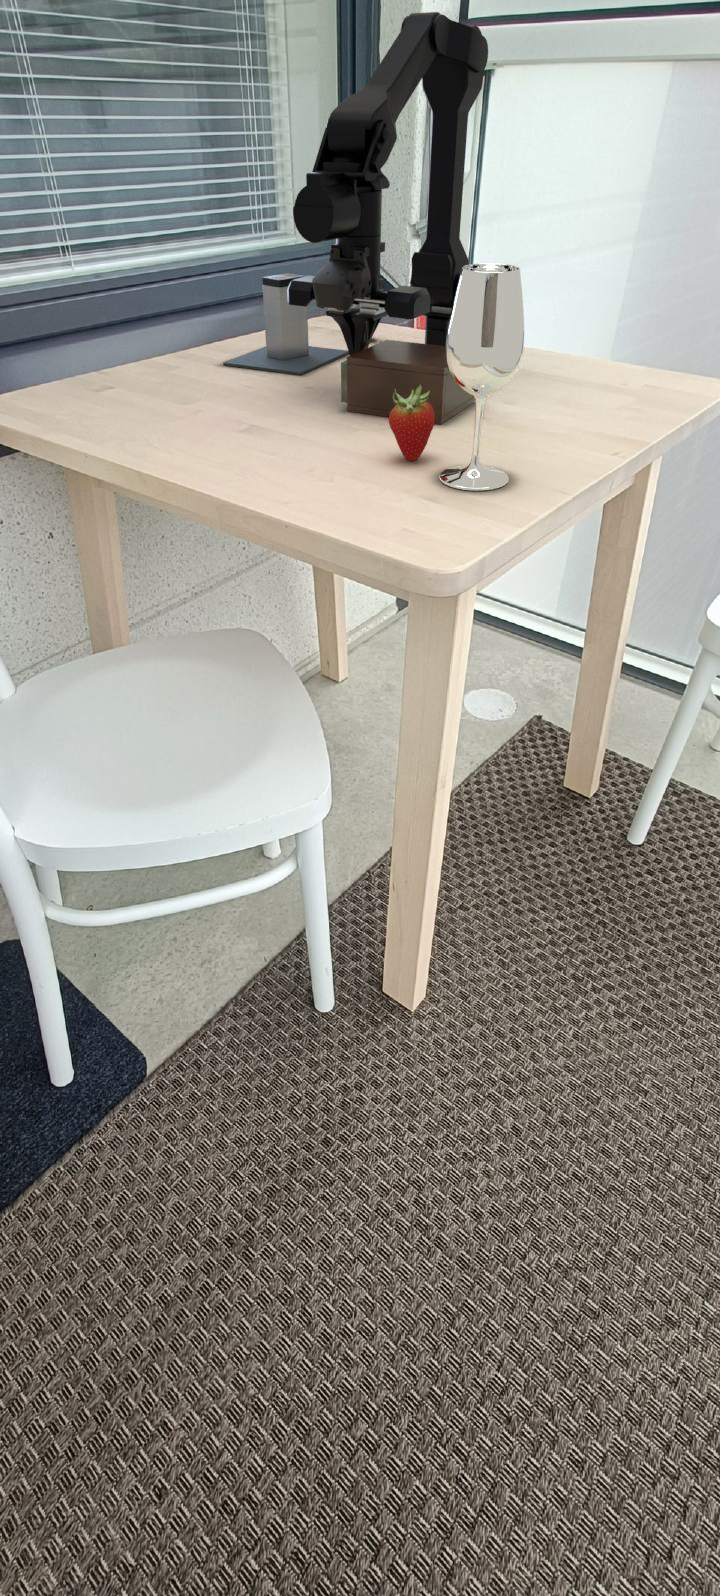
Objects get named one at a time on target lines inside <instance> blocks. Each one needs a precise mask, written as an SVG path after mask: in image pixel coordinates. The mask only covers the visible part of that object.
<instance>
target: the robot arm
mask: <svg viewBox="0 0 720 1596" xmlns="http://www.w3.org/2000/svg"><path fill="white" fill-rule="evenodd" d="M488 60H489V43H488V40H487V38H486V37H485V36H484V35H483V33H482V31H481V29H480V27H479V26H478V25H467V24H464V23H462V22H458V21H456V20H452V19H450V18H449V17H447V16H446V15H445V14H442V13H440V12H439V11H431V12H411V13H410V14H409V15H406V16H405V17H403V19H402V22H401V26H400V31H399V33H398V35H397V37H396V38H395V40H394V41H393V43H392V44H391V46H390V47H389V49H388V50H387V52H386V54H385V55H384V57H383V58H382V60H381V62H380V63H379V64H378V66H377V68H376V69H375V71H374V72H373V74H372V75H371V77H370V79H369V80H368V82H367V83H366V85H365V86H364V87H363V88H362V89H361V90H359V91H358V92H355V93H352V94H351V95H349V96H348V97H346V98H344V99H343V100H342V101H341V102H340V103H339V104H338V105H337V106H336V107H335V108H334V109H333V110H332V111H331V112H330V114H329V116H328V119H327V121H326V124H325V128H324V132H323V134H322V138H321V141H320V145H319V148H318V151H317V155H316V158H315V161H314V165H313V168H312V172H311V171H310V172H307V173H306V175H305V176H306V178H305V180H306V182H305V183H306V185H304V187H303V188H301V189H300V191H299V192H298V193H297V195H296V197H295V201H294V205H293V207H292V216H293V217H292V218H293V222H294V226H295V228H296V230H297V232H298V234H299V235H300V236H301V237H302V238H303V239H304V240H306V241H307V242H308V243H309V242H310V243H312V244H316V243H317V244H318V243H322V242H327V241H332V240H335V243H332V244H330V249H329V260H328V263H326V264H324V265H323V266H322V267H321V268H320V270H319V271H317V273H316V274H315V275H304V276H305V277H301V278H298V279H294V280H292V281H291V282H290V284H289V287H288V289H287V298H288V304H289V305H296V306H304V307H306V306H307V307H308V306H309V305H310V304H311V303H312V302H313V300H315V304H316V307H317V308H319V309H325V308H328V309H327V310H326V311H325V315H326V316H327V317H331V318H332V319H333V320H334V321H335V322H336V324H337V325H338V327H339V328H340V331H341V333H342V336H343V338H344V341H345V342H344V343H345V345H346V348H347V351H349V354H348V355H349V356H351V355H353V354H355V353H357V352H360V351H362V350H364V349H366V348H369V347H370V345H371V341H372V339H373V337H374V334H375V332H376V331H377V329H378V326H379V324H380V322H381V321H382V319H383V318H384V317H387V316H388V317H389V318H394V319H403V320H414V319H417V318H420V317H422V316H425V327H424V329H425V330H424V344H430V345H439V346H446V338H447V330H448V324H449V319H450V315H451V310H452V306H453V301H454V297H455V293H456V289H457V285H458V281H459V277H460V273H461V269H462V267H463V266H465V265H470V264H469V263H470V262H469V257H468V255H467V253H466V250H465V248H464V245H463V243H462V241H461V239H460V238H461V223H462V205H463V192H464V180H465V179H464V177H465V165H466V151H467V150H466V149H467V135H468V123H469V113H470V111H471V109H472V108H473V106H474V104H475V102H476V100H477V98H478V96H479V95H480V93H481V91H482V89H483V84H484V78H485V69H486V67H487V64H488ZM420 82H421V88H422V90H423V93H424V95H425V98H426V100H427V103H428V105H429V107H430V110H431V134H430V153H429V155H430V156H429V158H430V159H429V173H428V191H427V192H428V194H427V210H426V211H427V214H426V233H425V234H426V235H425V239H424V241H423V243H422V244H421V247H420V248H419V250H418V251H414V252H413V254H412V257H411V274H410V275H411V276H410V281H409V285H400V286H398V287H395V288H392V289H389V290H387V291H385V290H381V289H384V288H385V278H381V253H385V252H386V241H382V211H383V209H382V203H383V190H386V189H389V188H390V185H391V183H390V181H389V179H388V177H387V176H386V175H385V174H384V172H383V171H382V168H383V167H384V166H385V164H386V163H387V162H388V160H389V158H390V156H391V153H392V150H393V148H394V146H395V144H396V141H397V139H398V133H397V125H396V123H397V121H398V119H399V117H400V114H401V113H402V111H403V110H404V108H405V106H406V105H407V103H408V101H409V100H410V99H411V98H412V95H413V93H414V92H415V90H416V89H417V87H418V85H419V84H420Z"/></svg>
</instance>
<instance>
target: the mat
mask: <svg viewBox="0 0 720 1596" xmlns="http://www.w3.org/2000/svg"><path fill="white" fill-rule="evenodd" d="M348 355H350V354H349V351H348V350H347V349H338V348H337V349H336V348H329V347H328V348H327V347H320V346H311V345H309V355H306V356H302V357H298V358H293V359H289V360H284V361H283V360H279V359H275V358H271V357H267V350H266V346H263V347H261V348H258V349H255V350H252V351H250V352H247V353H245V354H242V355H239V356H237V357H234V358H231V359H228V360H225V361H224V362H223V363H222V365H223V366H226V367H234V368H240V369H241V368H242V369H248V370H249V369H250V370H256V371H257V370H258V371H264V372H265V371H266V372H273V373H281V374H288V375H296V376H302V375H304V374H307V373H310V372H311V371H314V370H316V369H318V368H320V367H322V366H325V365H327V364H329V363H332V362H334V361H336V360H339V359H341V358H343V357H346V356H348Z"/></svg>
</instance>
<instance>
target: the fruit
mask: <svg viewBox="0 0 720 1596" xmlns="http://www.w3.org/2000/svg"><path fill="white" fill-rule="evenodd" d="M421 389H422V387H421V384H420V385H419V386H418V388H417V389H416V391H415V394H414V390H412V392H411V395H410V397H409V398H406V400H405V399H404V398H402V397H401V396H400V395H399V394H397V393H396V390H395V393H394V394H396V396H397V398H398V399H399V401H397V400H395V399H394V394H393V402H394V403H395V404H397V405H396V406H395V407H394V408H393V409H392V410H391V412H390V415H389V417H388V424H389V427H390V430H391V431H392V432H391V433H392V434H393V435H394V438H395V441H396V443H397V446H398V448H399V450H400V452H401V454H402V456H403V457H404V458H405V459H406V460H407V461H411V462H414V461H417V459H419V458H420V457H421V456H422V454H423V452H424V450H425V449H426V447H427V444H428V441H429V439H430V437H431V434H432V431H433V429H434V426H435V424H434V420H435V417H434V411H433V408H432V406H431V405H430V404H429V403H428V402H426V400H427V399H428V397H427V396H428V395H429V392H430V390H429V391H428V392H427V393H425V394H423V395H421V396H420V393H421ZM426 397H427V399H425V398H426ZM421 399H424V400H421Z"/></svg>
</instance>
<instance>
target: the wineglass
mask: <svg viewBox="0 0 720 1596" xmlns="http://www.w3.org/2000/svg"><path fill="white" fill-rule="evenodd" d="M524 351H525V313H524V298H523V286H522V276H521V268H520V267H519V266H517V265H512V264H506V263H487V262H485V263H471V264H469V265H465V266H463V267H462V269H461V273H460V277H459V281H458V285H457V289H456V293H455V297H454V301H453V306H452V310H451V315H450V319H449V324H448V330H447V338H446V347H445V352H446V363H447V367H448V371H449V372H450V374H451V376H452V378H453V380H454V381H455V382H456V383H457V384H458V385H459V386H460V387H461V388H462V389H463V390H465V391H466V392H467V393H469V394H471V395H473V396H474V407H475V409H474V410H475V412H474V413H475V416H474V417H475V418H474V431H473V445H472V454H471V459H470V461H469V463H468V464H463V465H457V466H456V465H455V466H451V467H448V468H445V469H444V470H442V471H441V472H440V474H439V476H438V477H439V480H440V481H441V482H442V483H443V484H444V485H446V486H447V487H451V488H453V489H458V490H463V491H471V492H473V491H475V492H480V491H491V490H497V489H499V488H502V487H504V486H505V485H507V484H508V483H509V480H510V478H509V475H508V474H507V472H505V471H503V470H501V469H499V468H495V467H493V466H487V465H482V463H481V460H480V448H481V438H482V437H481V435H482V424H483V414H484V409H485V404H486V401H487V398H488V397H489V396H492V395H494V394H496V393H497V392H499V391H501V390H502V389H503V388H505V387H506V386H507V385H508V384H509V383H510V382H512V380H513V379H514V377H515V376H516V375H517V373H518V372H519V369H520V366H521V365H522V362H523V357H524Z"/></svg>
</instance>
